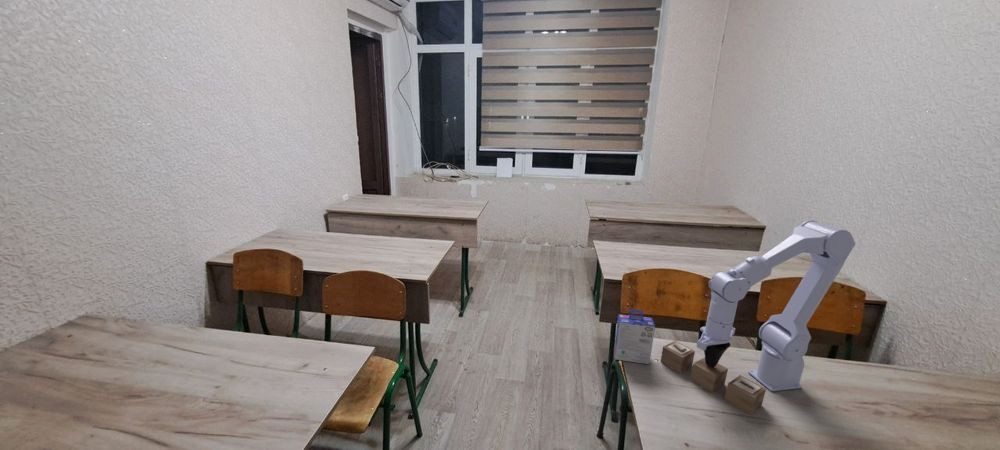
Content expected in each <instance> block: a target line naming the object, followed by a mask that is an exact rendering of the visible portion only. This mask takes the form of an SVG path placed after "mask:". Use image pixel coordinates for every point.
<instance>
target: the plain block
mask: <svg viewBox="0 0 1000 450" xmlns="http://www.w3.org/2000/svg"><path fill="white" fill-rule="evenodd" d="M691 367H692V368H691V374H690V378H689V379H690V381H693V382H694V383H696V384H697V385H699V386H701V387H703V388H704V389H705V390H707V391H709V392H711V393H714V392H716V391H717V390H718V389H720V388H722V387H723V386H725V385H726V379H727V374H728V372H729V368H728V367H725V366H724V365H722V364H720V363H719V362H718V363H717V365H716V366H715V367H713V368H712V367H711V366H709V365H707V364H706V362H705V356H704V357H702V358H701V359H699V360H697V361H695V362H693V364H692V366H691Z"/></svg>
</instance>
